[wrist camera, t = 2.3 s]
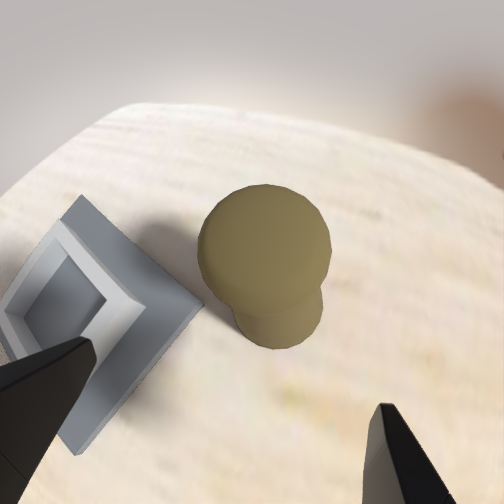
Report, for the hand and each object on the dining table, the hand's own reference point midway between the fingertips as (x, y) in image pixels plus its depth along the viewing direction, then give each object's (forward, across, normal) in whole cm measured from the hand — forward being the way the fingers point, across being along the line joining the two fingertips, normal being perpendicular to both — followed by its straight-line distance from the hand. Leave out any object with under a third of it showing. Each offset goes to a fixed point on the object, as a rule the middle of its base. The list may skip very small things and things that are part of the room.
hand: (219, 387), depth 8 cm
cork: (+12, 0, +5) cm, 13 cm away
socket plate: (+9, +16, +8) cm, 20 cm away
